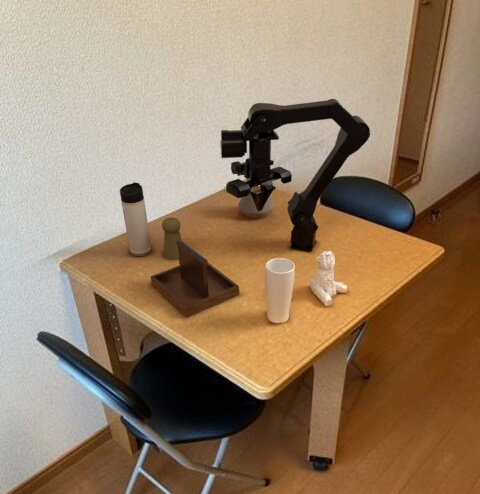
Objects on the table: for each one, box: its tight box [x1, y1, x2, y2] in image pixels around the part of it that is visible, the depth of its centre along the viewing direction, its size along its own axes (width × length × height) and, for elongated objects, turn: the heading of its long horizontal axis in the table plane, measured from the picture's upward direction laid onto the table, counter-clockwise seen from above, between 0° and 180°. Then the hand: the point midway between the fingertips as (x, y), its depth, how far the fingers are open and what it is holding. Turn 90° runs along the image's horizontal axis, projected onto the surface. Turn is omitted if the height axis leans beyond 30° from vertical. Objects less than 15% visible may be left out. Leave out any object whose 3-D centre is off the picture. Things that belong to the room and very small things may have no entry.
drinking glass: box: [264, 257, 296, 324], centre depth 116 cm, size 7×7×15 cm
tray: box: [150, 239, 240, 318], centre depth 127 cm, size 16×18×12 cm
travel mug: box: [119, 181, 152, 257], centre depth 141 cm, size 6×7×20 cm
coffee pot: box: [223, 178, 274, 220], centre depth 157 cm, size 21×12×15 cm, turn 144°
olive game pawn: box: [161, 217, 182, 260], centre depth 142 cm, size 6×6×11 cm
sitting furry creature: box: [309, 249, 348, 307], centre depth 125 cm, size 10×9×12 cm
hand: (259, 210), depth 140 cm, fingers closed
